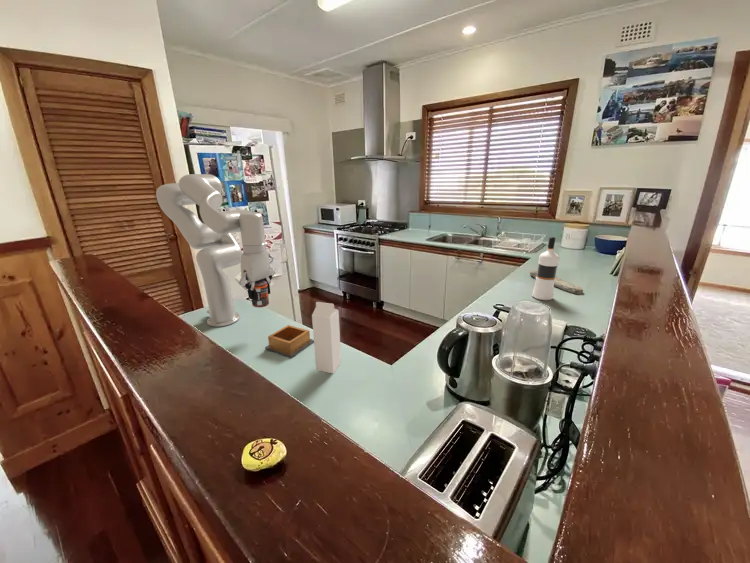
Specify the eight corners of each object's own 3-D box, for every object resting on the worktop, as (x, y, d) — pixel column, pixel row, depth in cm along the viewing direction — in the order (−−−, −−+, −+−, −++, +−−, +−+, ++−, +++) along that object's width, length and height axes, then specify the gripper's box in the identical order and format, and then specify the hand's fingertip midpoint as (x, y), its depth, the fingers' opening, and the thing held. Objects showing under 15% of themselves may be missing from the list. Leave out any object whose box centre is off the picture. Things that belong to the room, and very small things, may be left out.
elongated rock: (571, 298, 156) (587, 297, 159) (574, 288, 155) (590, 287, 157) (524, 274, 188) (537, 274, 190) (526, 266, 186) (540, 266, 189)
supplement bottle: (263, 308, 113) (260, 279, 109) (249, 307, 114) (245, 278, 110) (272, 302, 118) (269, 274, 114) (258, 301, 119) (254, 272, 116)
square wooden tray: (265, 349, 109) (263, 337, 108) (289, 335, 119) (288, 323, 118) (291, 358, 104) (289, 345, 102) (314, 342, 114) (313, 330, 112)
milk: (324, 360, 103) (320, 298, 96) (341, 363, 101) (338, 300, 94) (315, 370, 97) (310, 305, 90) (333, 374, 95) (329, 307, 89)
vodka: (528, 294, 158) (537, 235, 148) (546, 294, 158) (556, 235, 148) (537, 301, 149) (548, 239, 140) (556, 300, 149) (568, 238, 140)
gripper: (265, 242, 118) (270, 287, 124) (225, 252, 103) (233, 302, 109) (280, 245, 114) (284, 290, 120) (241, 255, 100) (248, 306, 106)
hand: (259, 295), depth 115 cm, fingers closed on supplement bottle, 5 cm apart
